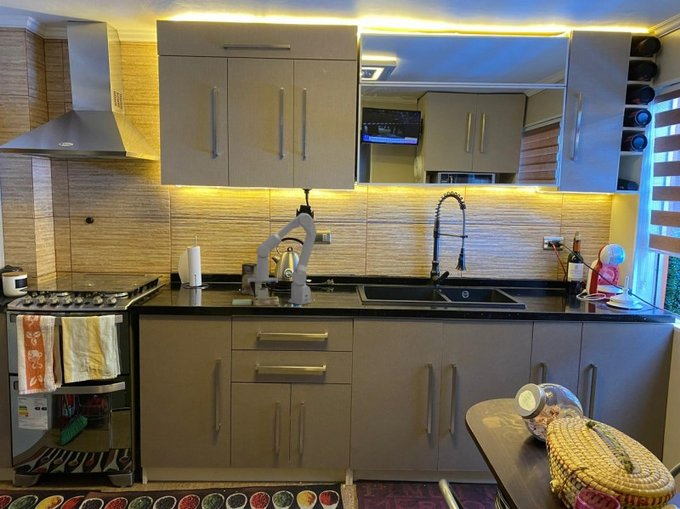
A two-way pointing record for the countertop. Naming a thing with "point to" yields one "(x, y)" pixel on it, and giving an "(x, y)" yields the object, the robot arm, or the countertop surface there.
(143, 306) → the countertop surface
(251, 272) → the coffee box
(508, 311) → the countertop surface
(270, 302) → the birch frame
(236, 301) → the rubber pad
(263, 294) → the knob-topped grey cube
